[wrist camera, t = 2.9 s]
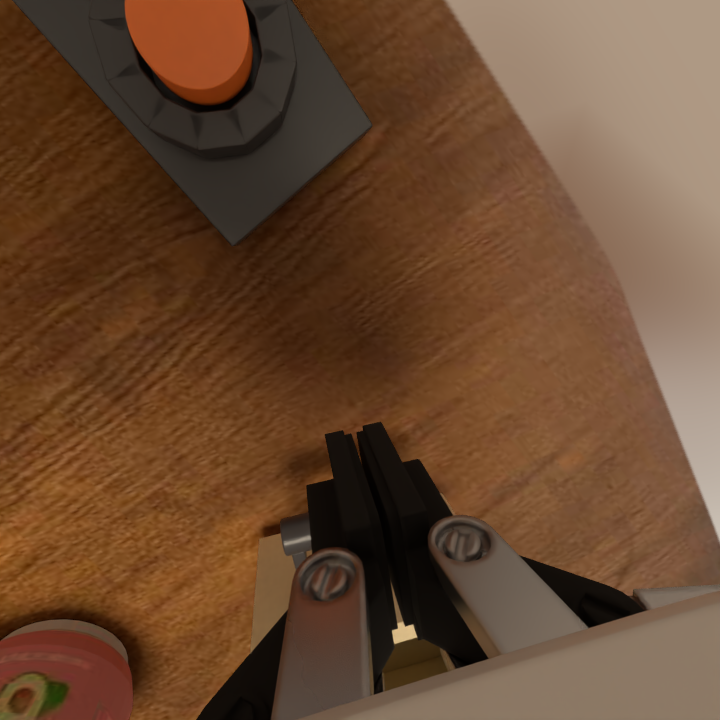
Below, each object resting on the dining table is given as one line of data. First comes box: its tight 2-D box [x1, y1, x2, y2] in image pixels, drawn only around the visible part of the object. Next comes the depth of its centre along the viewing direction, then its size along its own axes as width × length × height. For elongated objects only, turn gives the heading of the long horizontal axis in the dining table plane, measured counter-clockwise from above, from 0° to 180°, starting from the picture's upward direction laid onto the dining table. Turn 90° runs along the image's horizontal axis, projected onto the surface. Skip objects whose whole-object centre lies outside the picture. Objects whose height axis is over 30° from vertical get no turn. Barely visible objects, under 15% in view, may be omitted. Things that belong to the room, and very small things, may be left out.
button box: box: [12, 0, 372, 246], centre depth 15 cm, size 11×8×4 cm
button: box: [125, 0, 253, 106], centre depth 13 cm, size 4×4×2 cm
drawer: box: [250, 493, 456, 691], centre depth 22 cm, size 18×11×7 cm, turn 8°
